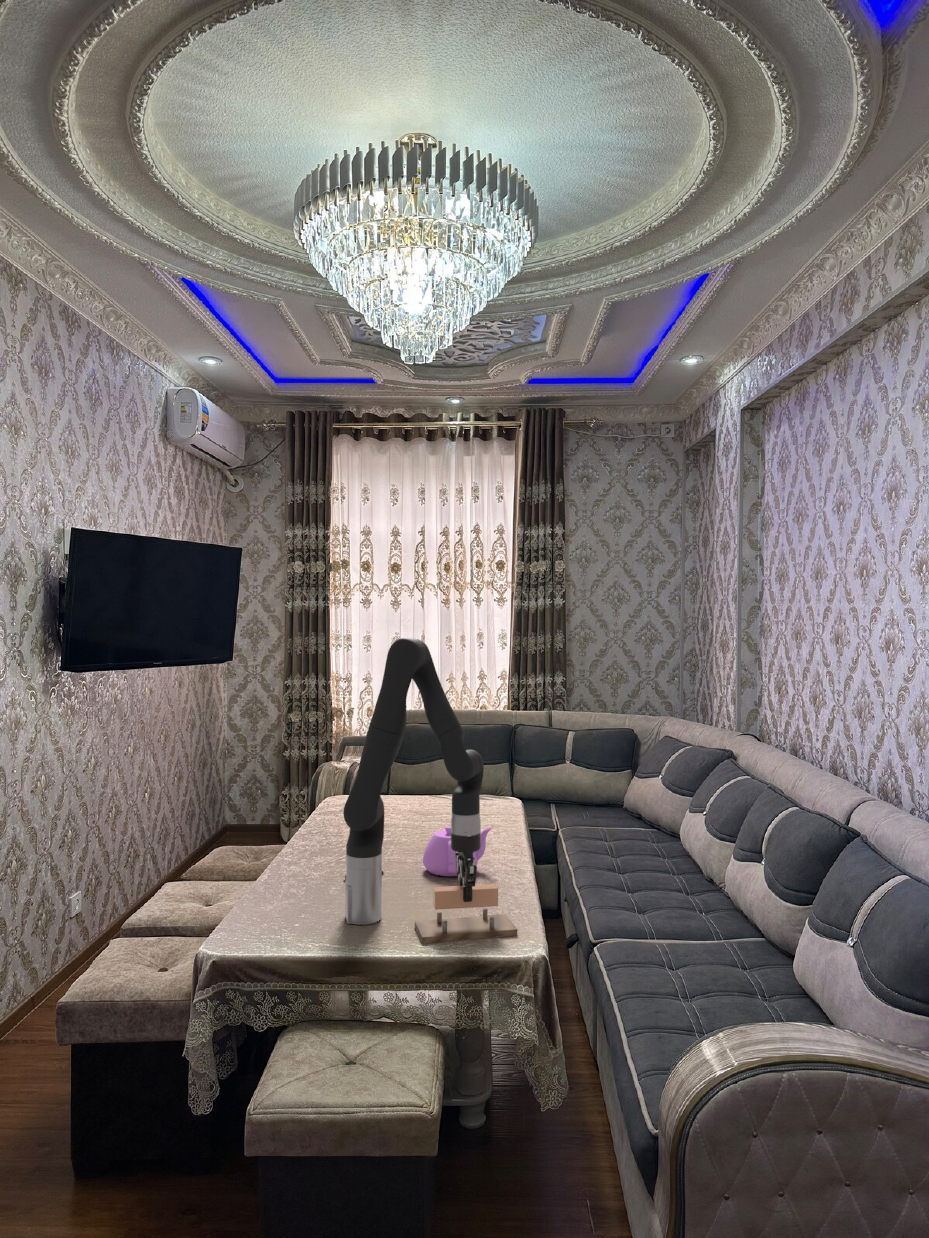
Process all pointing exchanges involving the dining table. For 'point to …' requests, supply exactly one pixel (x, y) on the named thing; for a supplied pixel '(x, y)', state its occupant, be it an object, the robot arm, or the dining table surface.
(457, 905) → the clay strip
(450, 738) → the robot arm
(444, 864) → the teapot
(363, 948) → the dining table surface
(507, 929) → the rack
